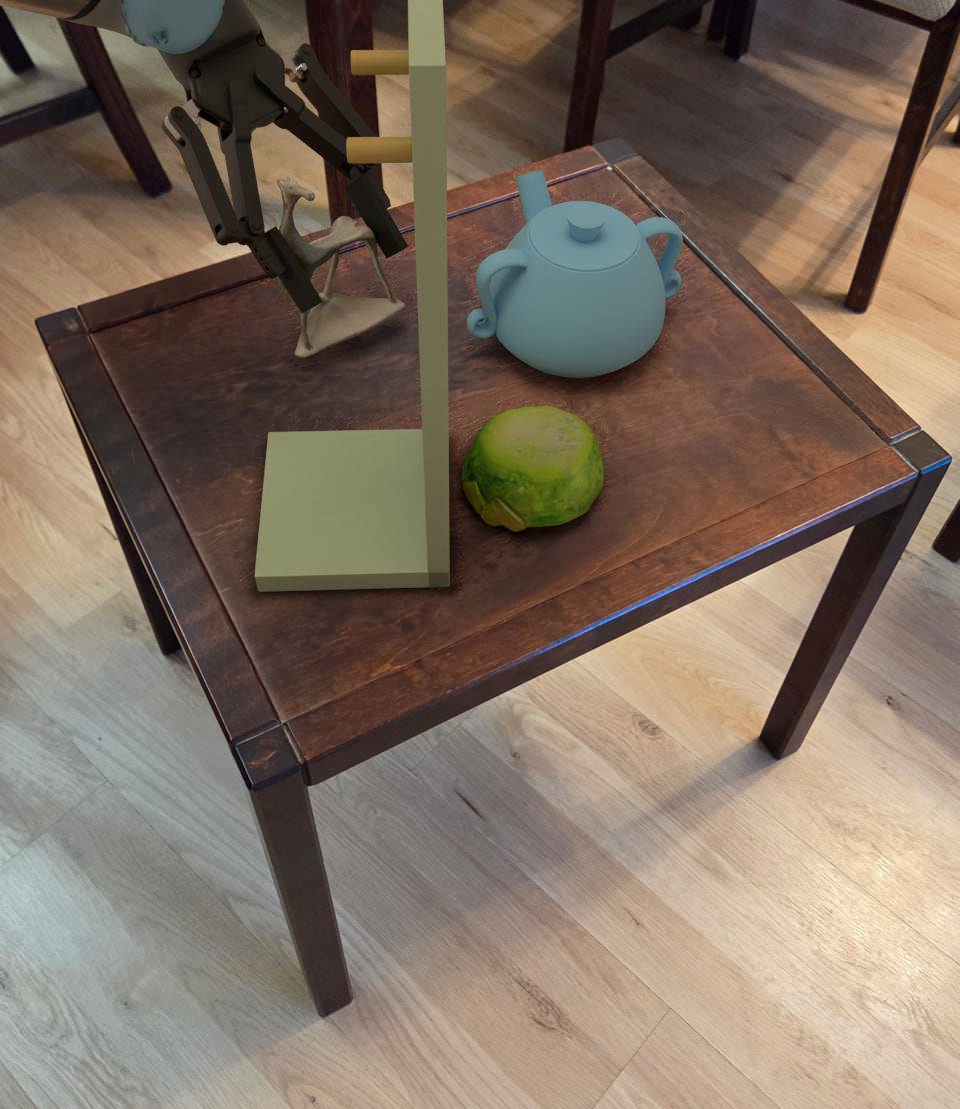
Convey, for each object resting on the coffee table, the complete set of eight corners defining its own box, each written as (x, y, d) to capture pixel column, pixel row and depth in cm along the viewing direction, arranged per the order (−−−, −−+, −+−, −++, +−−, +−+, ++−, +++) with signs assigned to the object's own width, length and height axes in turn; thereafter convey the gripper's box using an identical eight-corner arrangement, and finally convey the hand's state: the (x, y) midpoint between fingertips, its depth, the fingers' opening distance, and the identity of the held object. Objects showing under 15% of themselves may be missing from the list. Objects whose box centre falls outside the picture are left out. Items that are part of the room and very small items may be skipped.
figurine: (375, 272, 95) (364, 118, 82) (412, 313, 91) (406, 160, 79) (264, 315, 91) (236, 160, 79) (299, 360, 88) (275, 206, 76)
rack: (258, 592, 77) (115, 67, 45) (271, 448, 85) (159, -84, 53) (449, 587, 78) (445, 65, 45) (444, 444, 86) (438, -84, 53)
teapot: (497, 420, 88) (503, 301, 77) (424, 270, 98) (420, 149, 88) (710, 367, 92) (743, 247, 81) (617, 229, 103) (635, 109, 92)
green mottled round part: (563, 559, 79) (569, 518, 75) (438, 502, 82) (438, 460, 78) (625, 459, 85) (634, 417, 81) (507, 410, 88) (510, 367, 84)
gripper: (282, -16, 86) (425, 232, 93) (58, 85, 77) (236, 354, 83) (320, -64, 80) (471, 207, 87) (80, 40, 70) (271, 335, 77)
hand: (355, 279), depth 85 cm, fingers closed on figurine, 9 cm apart
